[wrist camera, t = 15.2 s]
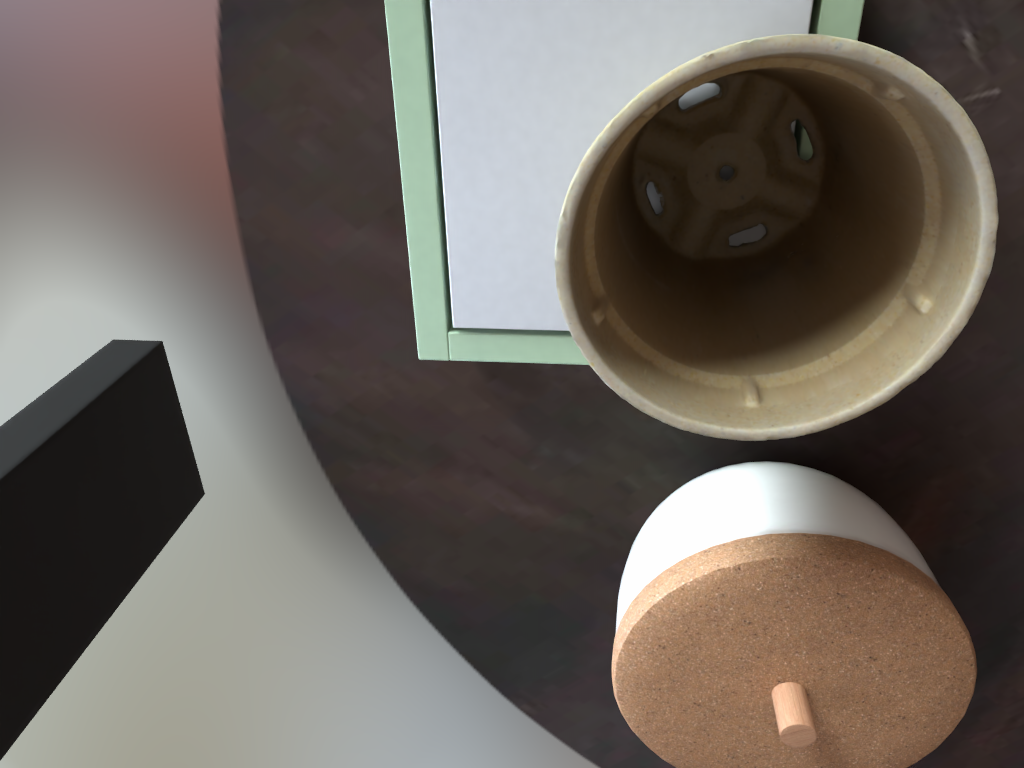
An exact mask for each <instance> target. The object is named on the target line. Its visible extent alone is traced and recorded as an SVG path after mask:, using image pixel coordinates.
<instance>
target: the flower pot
mask: <svg viewBox="0 0 1024 768" xmlns="http://www.w3.org/2000/svg"><path fill="white" fill-rule="evenodd" d="M705 83H715V84H717V85H718V86H719V87H720V92H719V94H718V95H715V96H712V97H710V98H707V99H705V100H703V101H701V102H698V103H696V104H694V105H692V106H690V107H688V108H687V109H682V108H680V106H679V99H680V98H681V97H682V96H683V95H684V94H685V93H686V92H688V91H690V90H692V89H694V88H696V87H699V86H700V85H702V84H705ZM795 120H799V123H800V125H801V126H802V127H803V128H804V129H805V130H806V132H807V135H808V137H809V140H810V143H811V145H812V150H813V154H812V156H811V158H810V159H808V160H803V159H801V158H800V157H799V156H798V151H797V142H796V139H795V136H794V134H793V131H792V128H791V124H792V122H794V121H795ZM724 166H729V167H731V168H732V169H733V175H732V177H731V178H730V179H729V180H724V179H722V178H721V177H720V170H721V169H722V168H723V167H724ZM649 182H653V184H654V187H655V189H656V192H657V194H661V195H662V197H660V203H661V207H662V209H663V210H662V212H661V213H659V214H656V213H655V211H654V209H653V207H652V205H651V202H650V200H649V198H648V195H647V190H646V189H647V185H648V183H649ZM758 224H763V226H764V227H765V229H766V234H765V235H764V236H763V237H762V238H761V239H759V240H758V241H754V242H748V243H742V244H740V245H739V246H732V245H729V237H730V236H731V235H733V234H736V233H739V232H741V231H744V230H747V229H751V228H753V227H755V226H758ZM997 228H998V211H997V196H996V186H995V180H994V176H993V172H992V169H991V165H990V161H989V158H988V155H987V153H986V151H985V147H984V145H983V142H982V140H981V138H980V136H979V133H978V131H977V129H976V128H975V126H974V125H973V123H972V122H971V120H970V118H969V117H968V115H967V114H966V112H965V111H964V109H963V108H962V107H961V106H960V105H959V104H958V103H957V102H956V101H955V100H954V98H953V97H952V96H951V95H950V94H949V93H948V92H947V91H946V90H945V89H944V88H943V87H942V86H941V85H940V84H939V83H938V82H936V81H935V80H934V79H933V78H932V77H930V76H929V75H927V74H926V73H925V72H924V71H923V70H921V69H920V68H918V67H916V66H915V65H913V64H911V63H910V62H908V61H907V60H905V59H904V58H902V57H900V56H898V55H895V54H893V53H891V52H889V51H886V50H884V49H881V48H878V47H875V46H873V45H870V44H867V43H863V42H860V41H856V40H852V39H847V38H840V37H833V36H827V35H821V34H786V35H776V36H767V37H761V38H756V39H751V40H745V41H741V42H737V43H734V44H730V45H727V46H724V47H722V48H719V49H716V50H713V51H709V52H707V53H705V54H703V55H700V56H698V57H696V58H694V59H692V60H690V61H688V62H686V63H684V64H682V65H680V66H678V67H676V68H675V69H673V70H672V71H670V72H668V73H667V74H665V75H664V76H662V77H661V78H659V79H658V80H656V81H655V82H653V83H652V84H651V85H649V86H648V87H647V88H645V89H644V90H643V91H641V92H640V93H639V94H638V95H637V96H636V97H635V98H634V99H632V100H631V101H630V102H629V103H628V104H627V105H626V106H625V107H624V108H623V109H622V110H621V111H620V112H619V113H618V114H617V115H616V116H615V117H614V118H613V119H612V120H611V121H610V122H609V123H608V125H607V126H606V127H605V128H604V129H603V131H602V132H601V133H600V134H599V136H598V137H597V138H596V139H595V141H594V142H593V144H592V145H591V146H590V148H589V149H588V151H587V152H586V154H585V156H584V157H583V159H582V161H581V163H580V165H579V167H578V169H577V171H576V173H575V175H574V177H573V179H572V181H571V183H570V185H569V188H568V191H567V194H566V197H565V200H564V203H563V207H562V210H561V214H560V218H559V223H558V228H557V233H556V244H555V278H556V287H557V292H558V297H559V301H560V305H561V309H562V313H563V317H564V320H565V322H566V324H567V326H568V328H569V331H570V333H571V335H572V338H573V340H574V341H575V343H576V345H577V346H578V347H579V349H580V350H581V353H582V355H583V356H584V357H585V358H586V360H587V361H588V363H589V365H590V366H591V367H592V368H593V370H594V371H595V372H596V373H597V374H598V375H599V377H600V378H601V379H602V380H603V381H604V382H605V383H606V385H608V386H609V387H610V388H611V389H612V390H614V391H615V392H616V393H617V394H618V395H619V396H620V397H621V398H622V399H625V400H627V401H628V402H629V403H630V404H631V405H633V406H634V407H636V408H638V409H639V410H640V411H642V412H644V413H646V414H648V415H650V416H651V417H653V418H656V419H659V420H660V421H662V422H664V423H667V424H668V425H671V426H674V427H676V428H679V429H681V430H685V431H690V432H693V433H697V434H702V435H704V436H711V437H716V438H724V439H734V440H743V441H751V440H752V441H759V440H761V441H765V440H769V439H773V440H777V439H781V438H793V437H797V436H802V435H806V434H811V433H815V432H818V431H822V430H825V429H828V428H831V427H834V426H836V425H839V424H840V423H845V422H846V421H849V420H851V419H854V418H856V417H858V416H860V415H862V414H864V413H866V412H868V411H871V410H873V409H874V408H876V407H878V406H880V405H882V404H883V403H885V402H887V401H888V400H890V399H891V398H892V397H894V396H895V395H897V394H898V393H899V392H900V391H901V390H902V389H903V388H905V387H906V386H907V385H909V384H911V383H912V382H914V381H916V380H917V379H918V378H919V377H920V376H921V375H922V374H924V373H925V372H926V371H927V370H929V369H930V368H931V367H932V365H933V364H934V363H935V362H937V361H938V360H939V359H940V358H941V357H942V356H943V355H944V353H945V352H946V351H947V350H948V348H949V347H950V346H951V345H952V343H953V341H954V340H955V339H956V338H957V337H958V335H959V334H960V332H962V329H963V328H964V326H965V325H966V324H967V322H968V320H969V318H970V317H971V316H972V313H973V311H974V309H975V307H976V305H977V304H978V302H979V299H980V297H981V294H982V292H983V289H984V287H985V284H986V281H987V279H988V277H989V275H990V272H991V269H992V264H993V259H994V254H995V245H996V233H997Z"/></svg>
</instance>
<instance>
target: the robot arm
mask: <svg viewBox="0 0 1024 768" xmlns="http://www.w3.org/2000/svg"><path fill="white" fill-rule="evenodd" d="M204 494H205V493H204V490H203V486H202V482H201V478H200V475H199V471H198V468H197V464H196V460H195V457H194V453H193V450H192V446H191V442H190V439H189V435H188V432H187V428H186V424H185V421H184V417H183V414H182V410H181V406H180V403H179V399H178V396H177V392H176V388H175V385H174V381H173V378H172V374H171V370H170V367H169V363H168V360H167V356H166V352H165V349H164V346H163V342H162V341H138V340H137V341H136V340H112V341H111V342H110V343H108V344H107V345H106V346H104V347H103V348H102V349H100V350H99V351H98V352H97V353H95V354H94V355H93V356H92V357H90V358H89V359H87V360H86V361H85V362H84V363H82V364H81V365H80V366H79V367H77V368H76V369H74V370H73V371H72V372H71V373H69V374H68V375H67V376H66V377H64V378H63V379H61V380H60V381H59V382H58V383H56V384H55V385H54V386H53V387H51V388H50V389H48V390H47V391H46V392H45V393H43V394H42V395H41V396H39V397H38V398H37V399H36V400H34V401H33V402H32V403H30V404H29V405H28V406H26V407H25V408H24V409H23V410H21V411H20V412H19V413H17V414H16V415H15V416H14V417H12V418H11V419H10V420H8V421H7V422H6V423H4V424H3V425H2V426H0V760H1V759H2V758H3V756H4V755H5V754H6V753H7V751H8V750H9V749H10V747H11V746H12V745H13V743H14V742H15V741H16V739H17V738H18V737H19V735H20V734H21V733H22V732H23V730H24V729H25V728H26V726H27V725H28V724H29V722H30V721H31V720H32V719H33V717H34V716H35V715H36V713H37V712H38V711H39V709H40V708H41V707H42V706H43V704H44V703H45V702H46V700H47V699H48V698H49V696H50V695H51V694H52V693H53V691H54V690H55V689H56V687H57V686H58V685H59V683H60V682H61V681H62V679H63V678H64V677H65V676H66V674H67V673H68V672H69V670H70V669H71V668H72V666H73V665H74V664H75V663H76V661H77V660H78V658H79V657H80V656H81V655H82V653H83V652H84V651H85V649H86V648H87V647H88V646H89V644H90V643H91V641H92V640H93V639H94V638H95V636H96V635H97V634H98V632H99V631H100V630H101V629H102V627H103V626H104V624H105V623H106V622H107V621H108V619H109V618H110V617H111V616H112V614H113V613H114V612H115V610H116V609H117V608H118V606H119V605H120V604H121V603H122V601H123V600H124V599H125V597H126V596H127V595H128V593H129V592H130V591H131V589H132V588H133V587H134V586H135V584H136V583H137V582H138V580H139V579H140V578H141V576H142V575H143V574H144V572H145V571H146V570H147V568H148V567H149V566H150V565H151V563H152V562H153V561H154V559H155V558H156V557H157V555H158V554H159V553H160V552H161V550H162V549H163V547H164V546H165V545H166V544H167V543H168V541H169V540H170V538H171V537H172V536H173V535H174V533H175V532H176V531H177V529H178V528H179V527H180V525H181V524H182V523H183V522H184V520H185V519H186V518H187V516H188V515H189V514H190V512H191V511H192V510H193V508H194V507H195V506H196V505H197V503H198V502H199V501H200V499H201V498H202V497H203V496H204Z"/></svg>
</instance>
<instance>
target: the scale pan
mask: <svg viewBox="0 0 1024 768" xmlns="http://www.w3.org/2000/svg"><path fill="white" fill-rule="evenodd" d="M430 7H431V22H432V36H433V50H434V64H435V79H436V93H437V107H438V121H439V136H440V150H441V164H442V179H443V193H444V207H445V221H446V236H447V250H448V264H449V278H450V293H451V307H452V321H453V327H454V328H485V329H522V330H558V331H569V328H568V326H567V324H566V322H565V320H564V317H563V313H562V309H561V305H560V301H559V297H558V292H557V287H556V278H555V244H556V233H557V228H558V223H559V218H560V214H561V210H562V207H563V203H564V200H565V197H566V194H567V191H568V188H569V185H570V183H571V181H572V179H573V177H574V175H575V173H576V171H577V169H578V167H579V165H580V163H581V161H582V159H583V157H584V156H585V154H586V152H587V151H588V149H589V148H590V146H591V145H592V144H593V142H594V141H595V139H596V138H597V137H598V136H599V134H600V133H601V132H602V131H603V129H604V128H605V127H606V126H607V125H608V123H609V122H610V121H611V120H612V119H613V118H614V117H615V116H616V115H617V114H618V113H619V112H620V111H621V110H622V109H623V108H624V107H625V106H626V105H627V104H628V103H629V102H630V101H631V100H632V99H634V98H635V97H636V96H637V95H638V94H639V93H640V92H641V91H643V90H644V89H645V88H647V87H648V86H649V85H651V84H652V83H653V82H655V81H656V80H658V79H659V78H661V77H662V76H664V75H665V74H667V73H668V72H670V71H672V70H673V69H675V68H676V67H678V66H680V65H682V64H684V63H686V62H688V61H690V60H692V59H694V58H696V57H698V56H700V55H703V54H705V53H707V52H709V51H713V50H716V49H719V48H722V47H724V46H727V45H730V44H734V43H737V42H741V41H745V40H751V39H756V38H761V37H767V36H776V35H786V34H809V28H810V21H811V14H812V7H813V0H430ZM719 92H720V87H719V86H718V85H717V84H715V83H705V84H702V85H700V86H699V87H696V88H694V89H692V90H690V91H688V92H686V93H685V94H684V95H683V96H682V97H681V98H680V99H679V106H680V108H682V109H687V108H688V107H690V106H692V105H694V104H696V103H698V102H701V101H703V100H705V99H707V98H710V97H712V96H715V95H718V94H719ZM795 124H796V120H795V121H794V122H792V124H791V128H792V131H793V134H794V131H795ZM732 175H733V169H732V168H731V167H729V166H724V167H723V168H722V169H721V170H720V177H721V178H722V179H724V180H729V179H730V178H731V177H732ZM646 190H647V195H648V198H649V200H650V202H651V205H652V207H653V209H654V211H655V213H656V214H659V213H661V212H662V210H663V209H662V207H661V203H660V197H662V195H661V194H657V192H656V189H655V187H654V184H653V182H649V183H648V185H647V189H646ZM765 234H766V229H765V227H764V226H763V224H758V226H755V227H753V228H751V229H747V230H744V231H741V232H739V233H736V234H733V235H731V236H730V237H729V245H732V246H739V245H740V244H742V243H748V242H754V241H758V240H759V239H761V238H762V237H763V236H764V235H765Z"/></svg>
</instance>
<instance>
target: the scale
mask: <svg viewBox="0 0 1024 768" xmlns="http://www.w3.org/2000/svg"><path fill="white" fill-rule="evenodd" d="M864 2H865V0H813V7H812V14H811V21H810V28H809V34H821V35H827V36H833V37H840V38H847V39H852V40H856V41H858V36H859V30H860V25H861V19H862V13H863V7H864ZM385 11H386V21H387V32H388V42H389V53H390V63H391V73H392V84H393V94H394V105H395V115H396V126H397V136H398V147H399V157H400V168H401V178H402V188H403V199H404V209H405V220H406V230H407V241H408V251H409V262H410V272H411V283H412V293H413V303H414V314H415V324H416V335H417V345H418V356H419V359H420V360H449V359H450V360H457V361H488V362H518V363H549V364H580V365H589V363H588V361H587V360H586V358H585V357H584V356H583V355H582V353H581V350H580V349H579V347H578V346H577V345H576V343H575V341H574V340H573V338H572V335H571V333H570V331H558V330H522V329H485V328H454V327H453V321H452V307H451V293H450V278H449V264H448V250H447V236H446V221H445V207H444V193H443V179H442V164H441V150H440V136H439V121H438V107H437V93H436V79H435V64H434V50H433V36H432V22H431V7H430V0H385ZM794 136H795V139H796V142H797V151H798V156H799V157H800V158H801V159H803V160H808V159H810V158H811V156H812V154H813V150H812V145H811V143H810V140H809V137H808V135H807V132H806V130H805V129H804V128H803V127H802V126H801V125H800V123H799V120H796V124H795V131H794Z"/></svg>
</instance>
